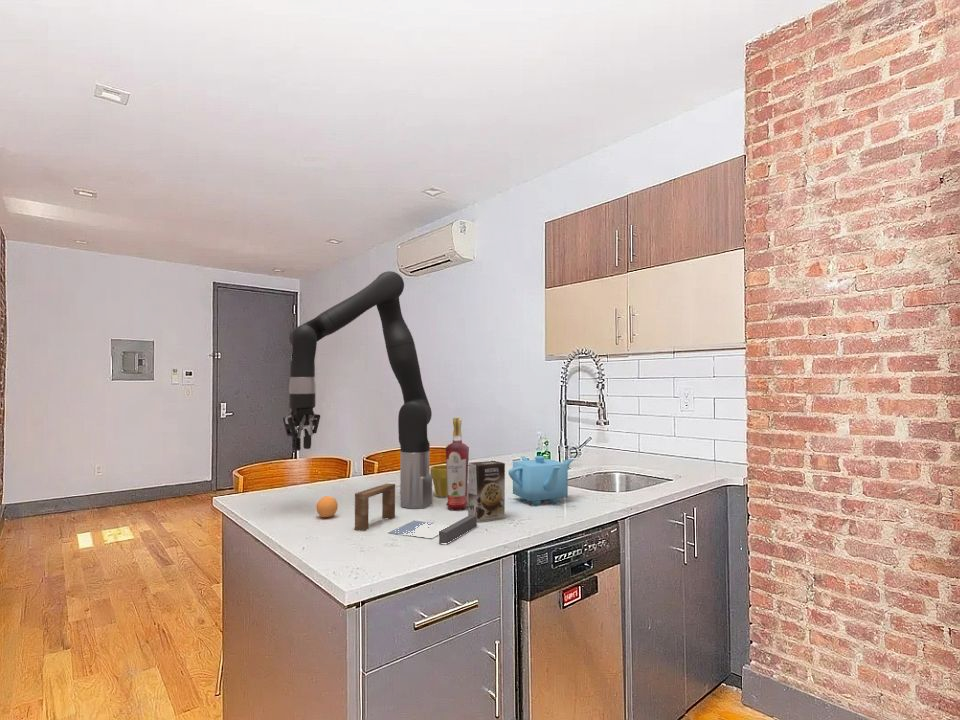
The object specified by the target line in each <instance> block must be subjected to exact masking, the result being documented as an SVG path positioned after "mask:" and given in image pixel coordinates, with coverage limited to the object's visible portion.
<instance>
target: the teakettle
mask: <svg viewBox="0 0 960 720" xmlns="http://www.w3.org/2000/svg"><path fill="white" fill-rule="evenodd" d="M545 457H546V456H545V455H544V456H543V455H535V456H534V459H528V458H527V457H526V456H520V458H521V460H515V461H512V467H511V468H510V469H509V470H508V475H509V478H510V479H511V480H512V495H516V496H517V497H520V501H521V502H531V503H530V505H531V506H541V501H546V500H549V503H551V504H560V501H559V499H562V498H568V497H569V496H568V494H569V492H568V491H569V490H568V489H569V486H568V484H569V482H568V480H569V479H568V475H569V474H568V473H569V472H568V471H569V466H570V464H571V463H572V462H573V461H574V460H575V458H570V459H566V460H565V461H564V462H562V461H558V460H554V459H550V458H545Z"/></svg>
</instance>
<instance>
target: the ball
mask: <svg viewBox="0 0 960 720" xmlns="http://www.w3.org/2000/svg"><path fill="white" fill-rule="evenodd" d="M338 506H339V504H338V501H337V500H336V499H335V498H334V497H333V496H329V495H328V496H323V497H321V498H320V499H319V500H318V501H317V502H316V512H317V514H318V515H319V516H320V517H323V518H331V517H333V516H334V515H335V514H336V512H337V511H338Z"/></svg>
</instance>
